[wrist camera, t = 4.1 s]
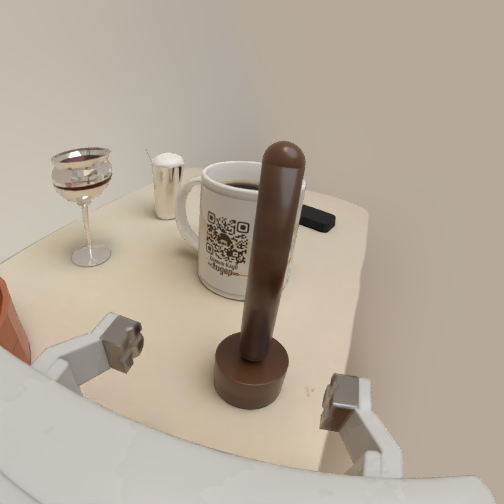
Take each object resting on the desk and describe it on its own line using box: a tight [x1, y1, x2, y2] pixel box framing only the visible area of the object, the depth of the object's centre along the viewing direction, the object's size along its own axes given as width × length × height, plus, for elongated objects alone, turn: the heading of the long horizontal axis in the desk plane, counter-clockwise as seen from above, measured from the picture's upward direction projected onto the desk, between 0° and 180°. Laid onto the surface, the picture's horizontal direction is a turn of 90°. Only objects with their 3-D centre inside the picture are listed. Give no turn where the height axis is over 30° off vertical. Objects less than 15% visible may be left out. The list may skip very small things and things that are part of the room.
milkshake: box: [150, 153, 184, 220], centre depth 43 cm, size 5×5×10 cm
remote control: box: [299, 204, 335, 232], centre depth 51 cm, size 5×2×15 cm
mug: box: [175, 161, 306, 301], centre depth 33 cm, size 10×12×11 cm
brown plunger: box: [214, 141, 305, 409], centre depth 18 cm, size 5×5×17 cm
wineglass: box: [51, 147, 112, 267], centre depth 31 cm, size 7×7×12 cm
